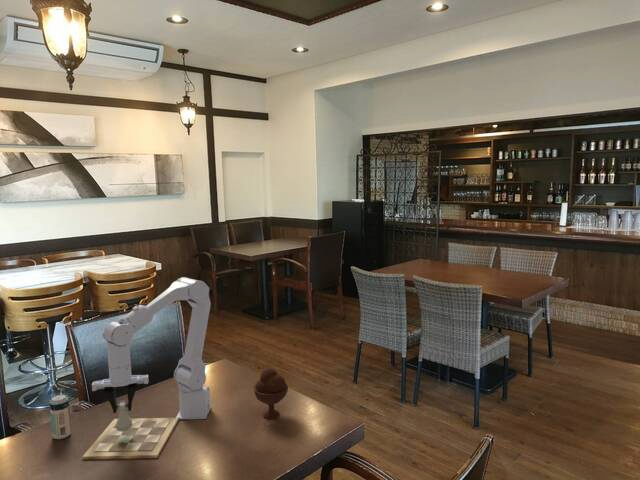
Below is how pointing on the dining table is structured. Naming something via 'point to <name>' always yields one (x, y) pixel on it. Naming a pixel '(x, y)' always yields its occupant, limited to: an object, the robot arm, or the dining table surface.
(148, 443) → the chessboard
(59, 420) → the white labeled bottle
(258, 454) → the dining table surface
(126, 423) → the rook chess piece
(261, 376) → the ice cream bowl
